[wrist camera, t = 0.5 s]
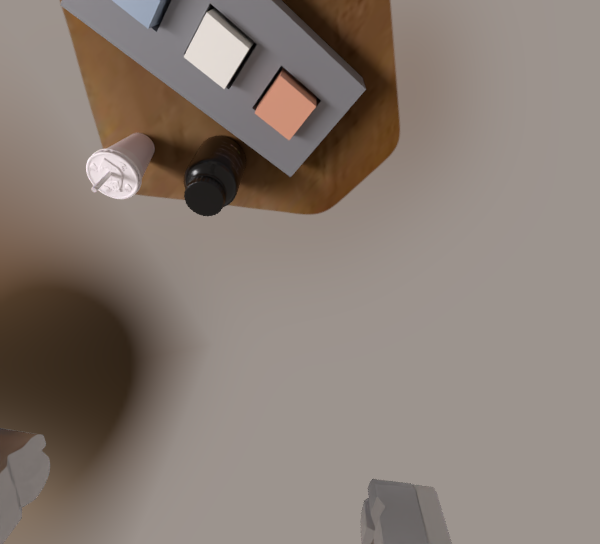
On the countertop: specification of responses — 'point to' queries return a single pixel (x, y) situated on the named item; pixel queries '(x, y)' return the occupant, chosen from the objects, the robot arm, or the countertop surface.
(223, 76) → the white key
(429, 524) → the robot arm
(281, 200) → the countertop surface
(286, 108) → the terracotta key
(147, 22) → the slate blue key
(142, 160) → the smoothie
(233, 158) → the supplement bottle
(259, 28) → the key panel
